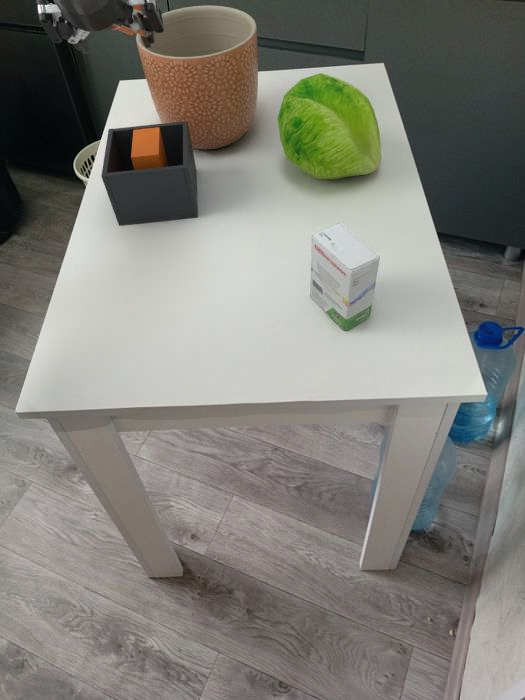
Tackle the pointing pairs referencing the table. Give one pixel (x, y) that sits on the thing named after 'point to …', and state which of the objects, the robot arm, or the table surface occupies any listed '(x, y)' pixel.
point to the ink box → (343, 275)
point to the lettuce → (329, 128)
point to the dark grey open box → (151, 177)
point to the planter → (204, 72)
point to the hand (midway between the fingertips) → (116, 43)
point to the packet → (148, 149)
